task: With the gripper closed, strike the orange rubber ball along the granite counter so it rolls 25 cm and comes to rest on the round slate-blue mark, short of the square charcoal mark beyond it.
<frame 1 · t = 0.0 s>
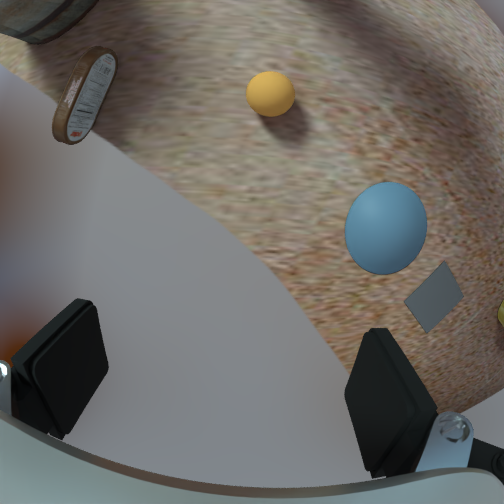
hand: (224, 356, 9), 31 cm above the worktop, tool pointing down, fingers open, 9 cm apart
tin: (100, 99, 34), on the worktop
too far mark: (424, 281, 41), on the worktop
ball: (270, 93, 31), on the worktop
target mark: (388, 229, 39), on the worktop
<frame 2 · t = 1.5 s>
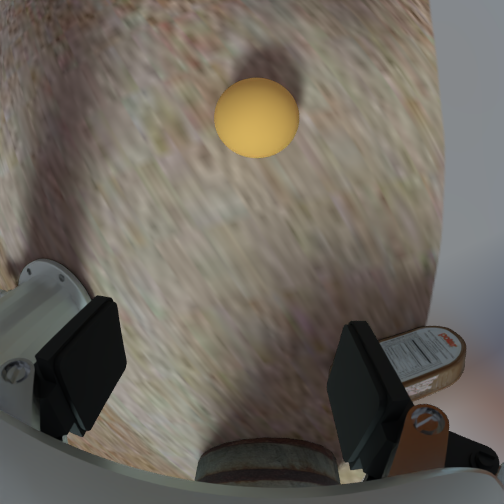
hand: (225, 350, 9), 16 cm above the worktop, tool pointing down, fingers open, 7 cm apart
tin: (386, 342, 28), on the worktop
ball: (256, 117, 19), on the worktop
barrel: (267, 471, 36), on the worktop
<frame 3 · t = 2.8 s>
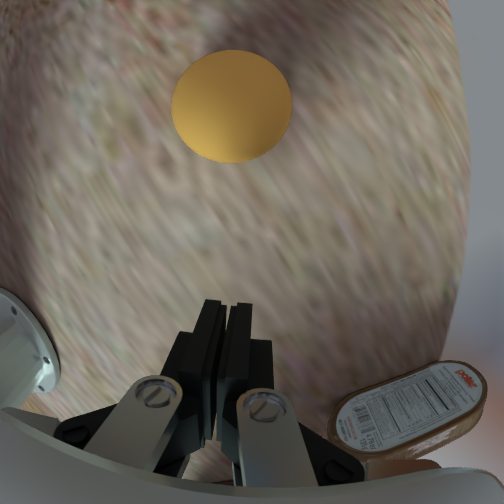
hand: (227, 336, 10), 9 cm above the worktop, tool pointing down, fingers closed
tin: (394, 381, 22), on the worktop
ball: (231, 105, 13), on the worktop
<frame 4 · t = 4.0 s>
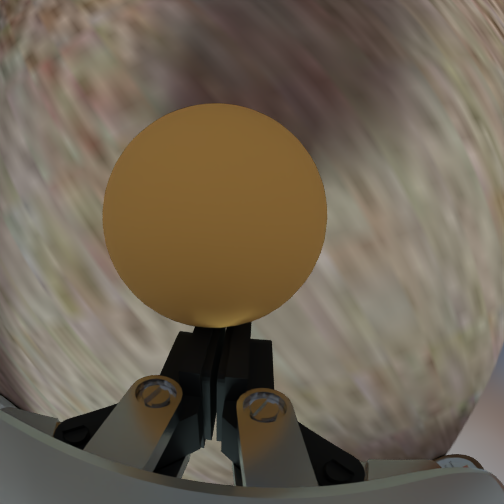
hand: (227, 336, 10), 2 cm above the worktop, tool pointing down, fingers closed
tin: (400, 474, 18), on the worktop
ball: (214, 214, 8), on the worktop
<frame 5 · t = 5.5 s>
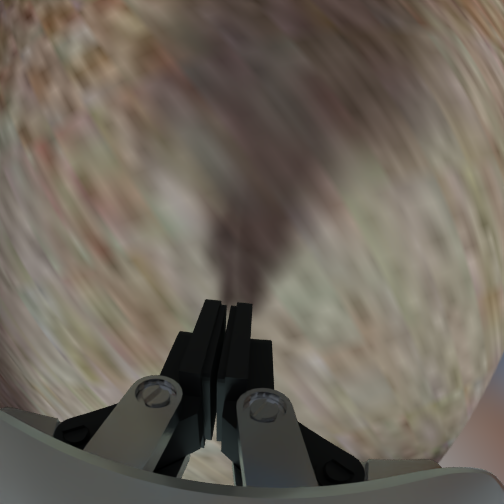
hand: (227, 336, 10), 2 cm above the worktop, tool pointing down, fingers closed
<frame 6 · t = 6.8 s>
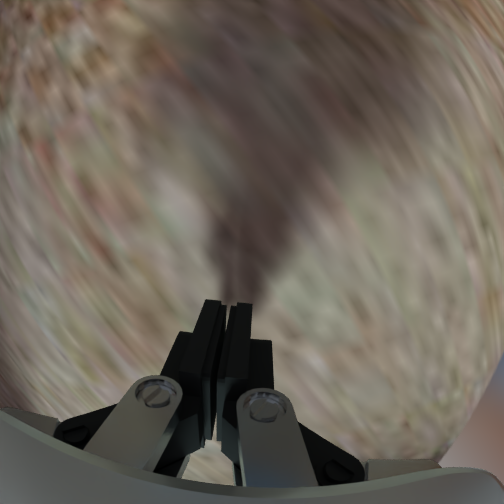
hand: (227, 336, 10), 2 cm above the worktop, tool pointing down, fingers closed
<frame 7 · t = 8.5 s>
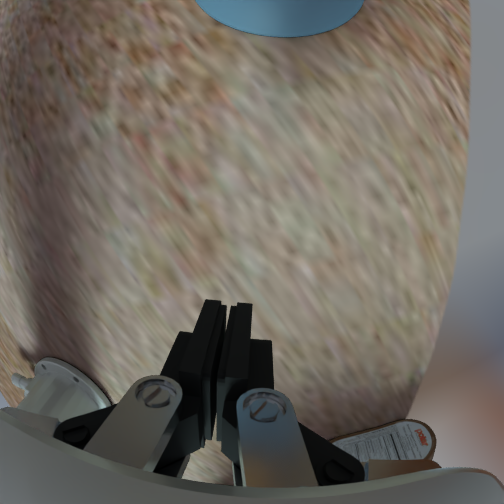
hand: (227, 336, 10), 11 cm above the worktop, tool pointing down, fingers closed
tin: (368, 430, 28), on the worktop
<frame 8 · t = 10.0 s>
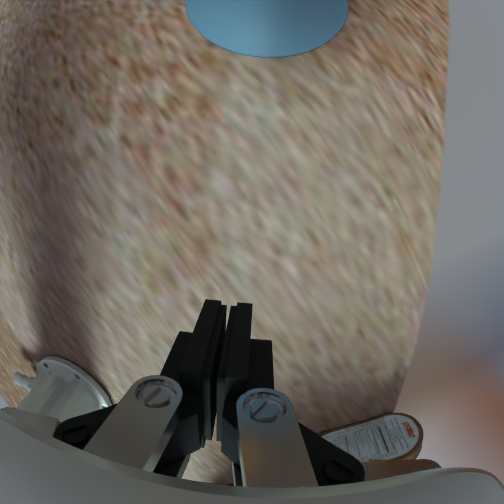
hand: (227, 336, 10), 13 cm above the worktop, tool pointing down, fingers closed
tin: (357, 424, 30), on the worktop
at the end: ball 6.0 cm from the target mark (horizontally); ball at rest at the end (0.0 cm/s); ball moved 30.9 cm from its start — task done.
